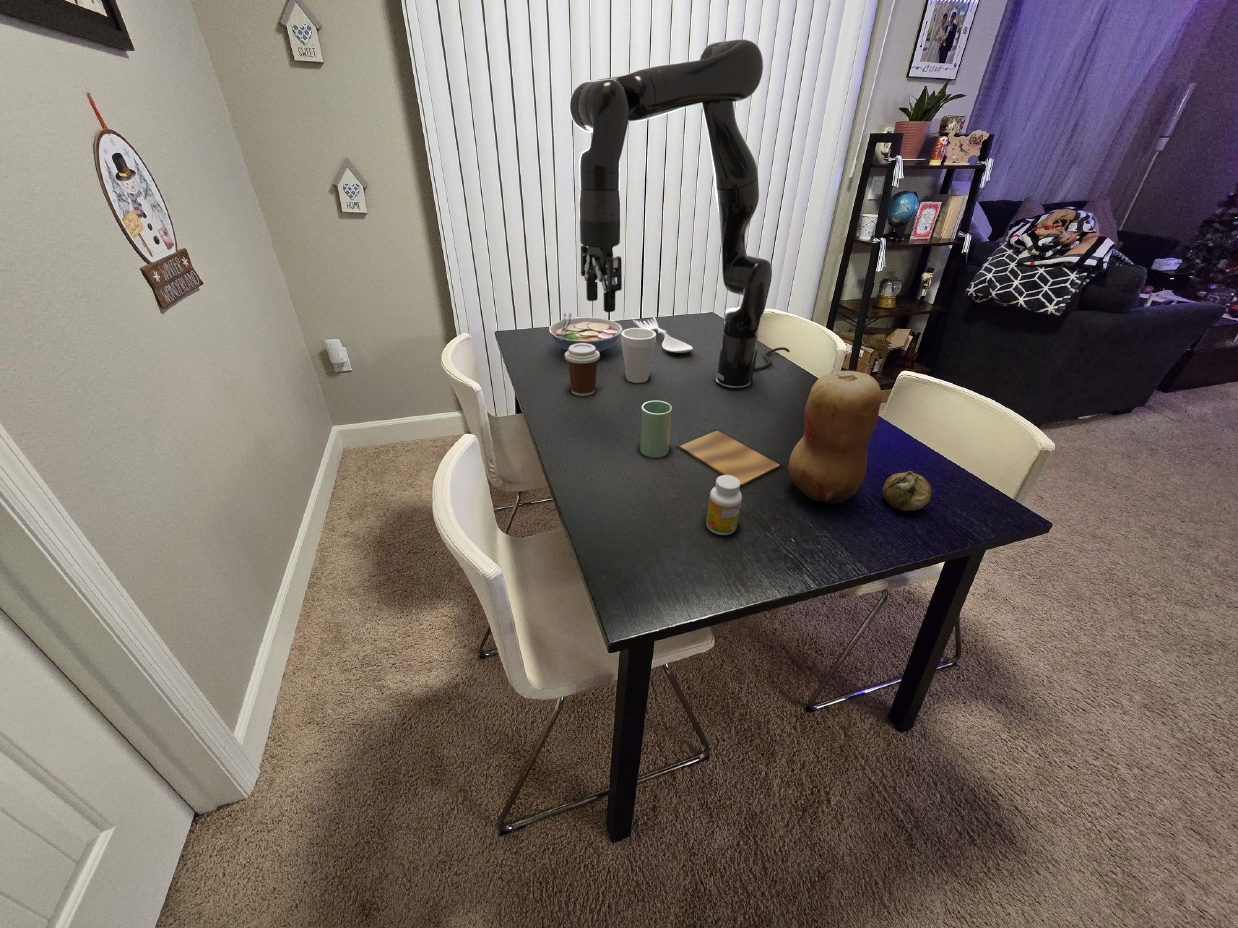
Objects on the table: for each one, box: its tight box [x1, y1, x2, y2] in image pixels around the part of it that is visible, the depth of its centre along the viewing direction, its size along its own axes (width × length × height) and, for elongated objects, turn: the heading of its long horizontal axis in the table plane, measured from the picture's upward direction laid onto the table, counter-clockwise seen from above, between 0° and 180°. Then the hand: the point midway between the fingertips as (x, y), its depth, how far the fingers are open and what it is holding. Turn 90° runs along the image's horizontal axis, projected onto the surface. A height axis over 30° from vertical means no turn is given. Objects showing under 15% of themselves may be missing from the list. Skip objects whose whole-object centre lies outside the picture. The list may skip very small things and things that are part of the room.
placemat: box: [678, 430, 781, 487], centre depth 108 cm, size 18×12×1 cm, turn 37°
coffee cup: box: [564, 343, 601, 397], centre depth 132 cm, size 9×9×12 cm
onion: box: [882, 470, 933, 512], centre depth 92 cm, size 8×8×8 cm
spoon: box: [632, 316, 694, 354], centre depth 167 cm, size 9×32×4 cm, turn 22°
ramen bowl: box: [548, 312, 623, 353], centre depth 157 cm, size 25×23×8 cm
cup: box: [639, 400, 673, 459], centre depth 107 cm, size 6×6×10 cm
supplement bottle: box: [705, 474, 743, 536], centre depth 86 cm, size 5×5×10 cm
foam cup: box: [620, 327, 657, 384], centre depth 139 cm, size 10×9×13 cm
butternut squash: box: [787, 370, 883, 505], centre depth 90 cm, size 14×13×25 cm
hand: (600, 305), depth 101 cm, fingers open, 8 cm apart
